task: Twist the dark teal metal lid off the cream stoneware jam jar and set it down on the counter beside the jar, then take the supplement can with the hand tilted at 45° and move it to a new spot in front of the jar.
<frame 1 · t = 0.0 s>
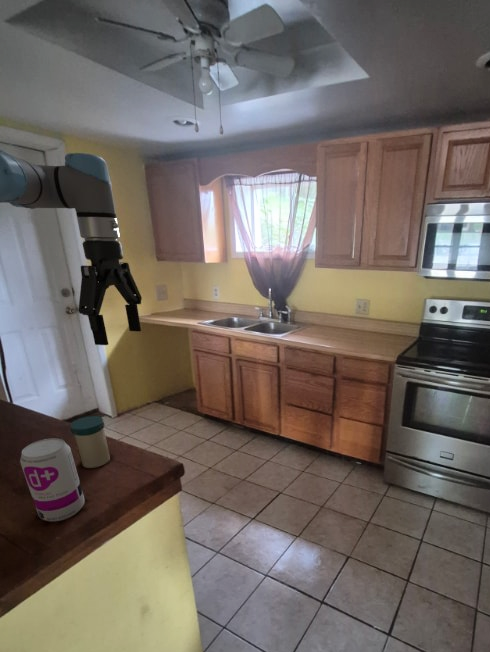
hand: (119, 337, 88), 30 cm above the table, tool pointing down, fingers open, 13 cm apart
jar: (96, 460, 94), on the table
jar lid: (87, 424, 89), point 10 cm above the table, screwed on, not yet turned
supplement can: (63, 510, 77), on the table
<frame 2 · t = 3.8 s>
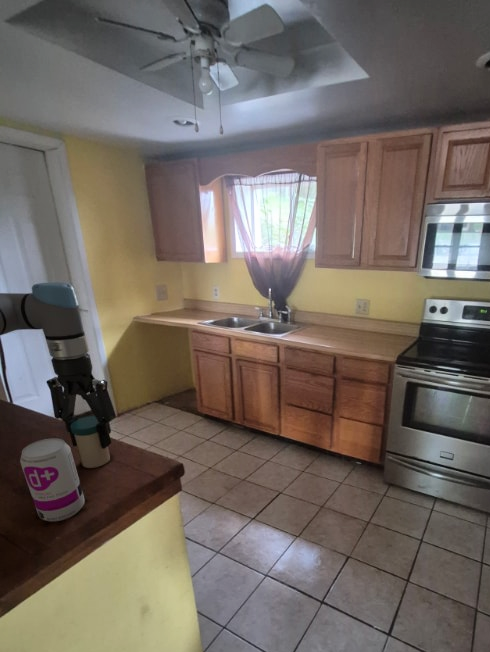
hand: (92, 444, 92), 5 cm above the table, tool pointing down, fingers closed on jar lid, 7 cm apart
jar lid: (87, 424, 89), point 10 cm above the table, screwed on, not yet turned, touching gripper
everything else where it was.
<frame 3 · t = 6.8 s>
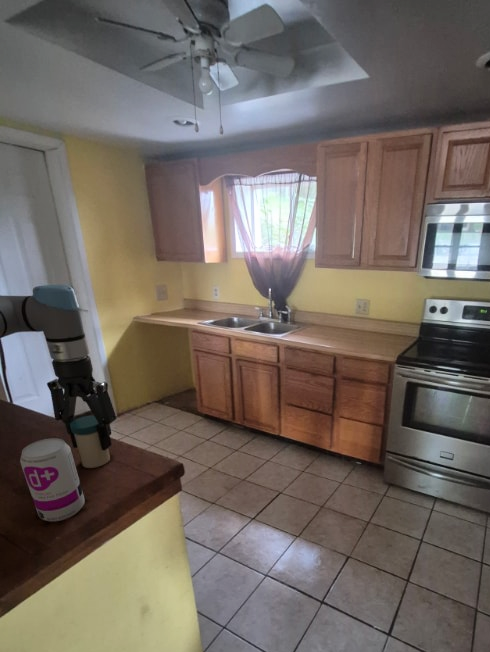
hand: (92, 446, 92), 4 cm above the table, tool pointing down, fingers closed on jar lid, 7 cm apart
jar lid: (87, 423, 89), point 11 cm above the table, turned 80° so far, risen 0.2 cm, still on its thread, touching gripper
everything else where it was.
when the fingers open (6 cm above the table, at t = 31.3 s): jar lid stays where it is, point 1 cm above the table.
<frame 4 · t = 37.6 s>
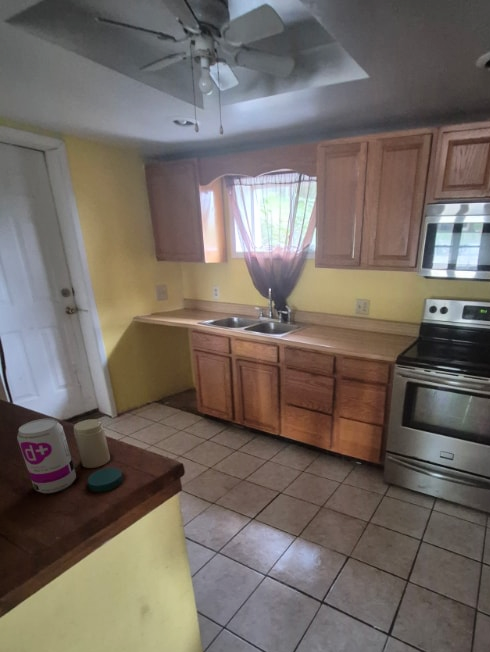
jar lid: (104, 477, 85), point 1 cm above the table, off its thread
supplement can: (56, 484, 85), on the table
everything else where it was.
at the end: jar lid came off its thread; jar lid point 1.3 cm above the table; supplement can inside the target area (0.1 cm from its centre), on the table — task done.
